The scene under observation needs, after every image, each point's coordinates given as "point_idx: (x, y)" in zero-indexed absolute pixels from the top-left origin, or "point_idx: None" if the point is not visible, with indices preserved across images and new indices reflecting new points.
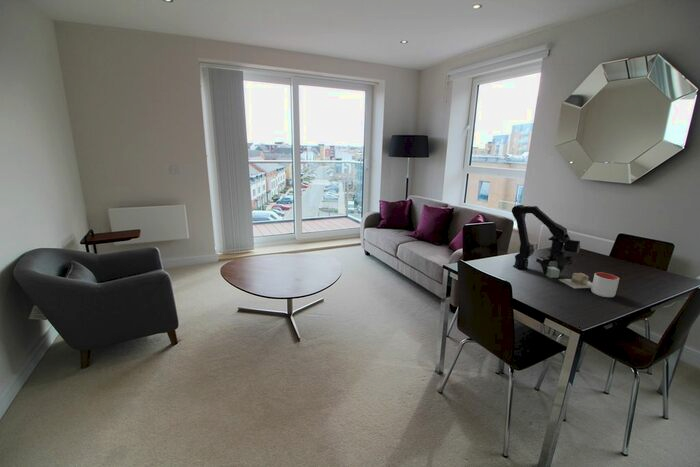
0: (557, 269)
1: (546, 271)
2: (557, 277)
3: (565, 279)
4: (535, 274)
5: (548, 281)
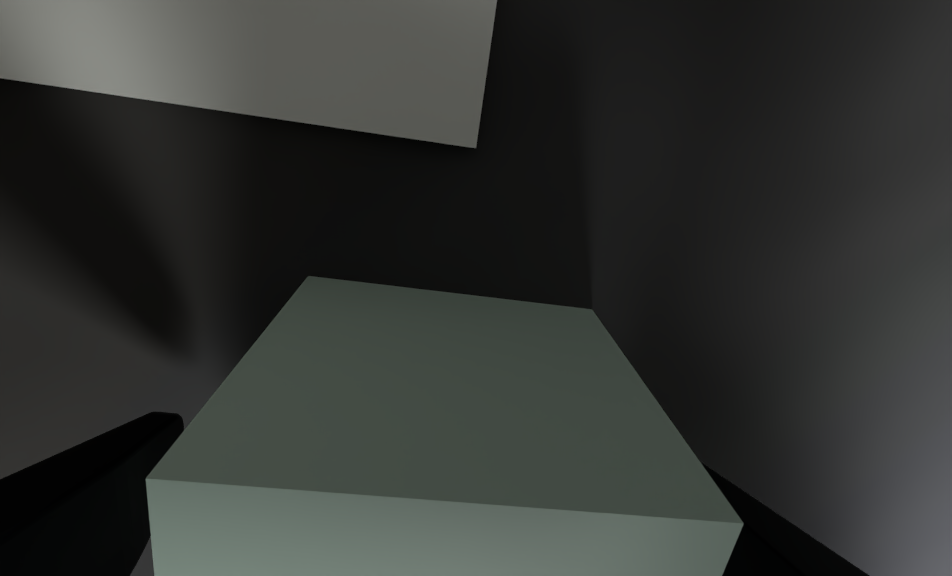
0: (263, 567)
1: (783, 547)
2: (343, 286)
3: (175, 57)
4: None
5: (920, 94)
